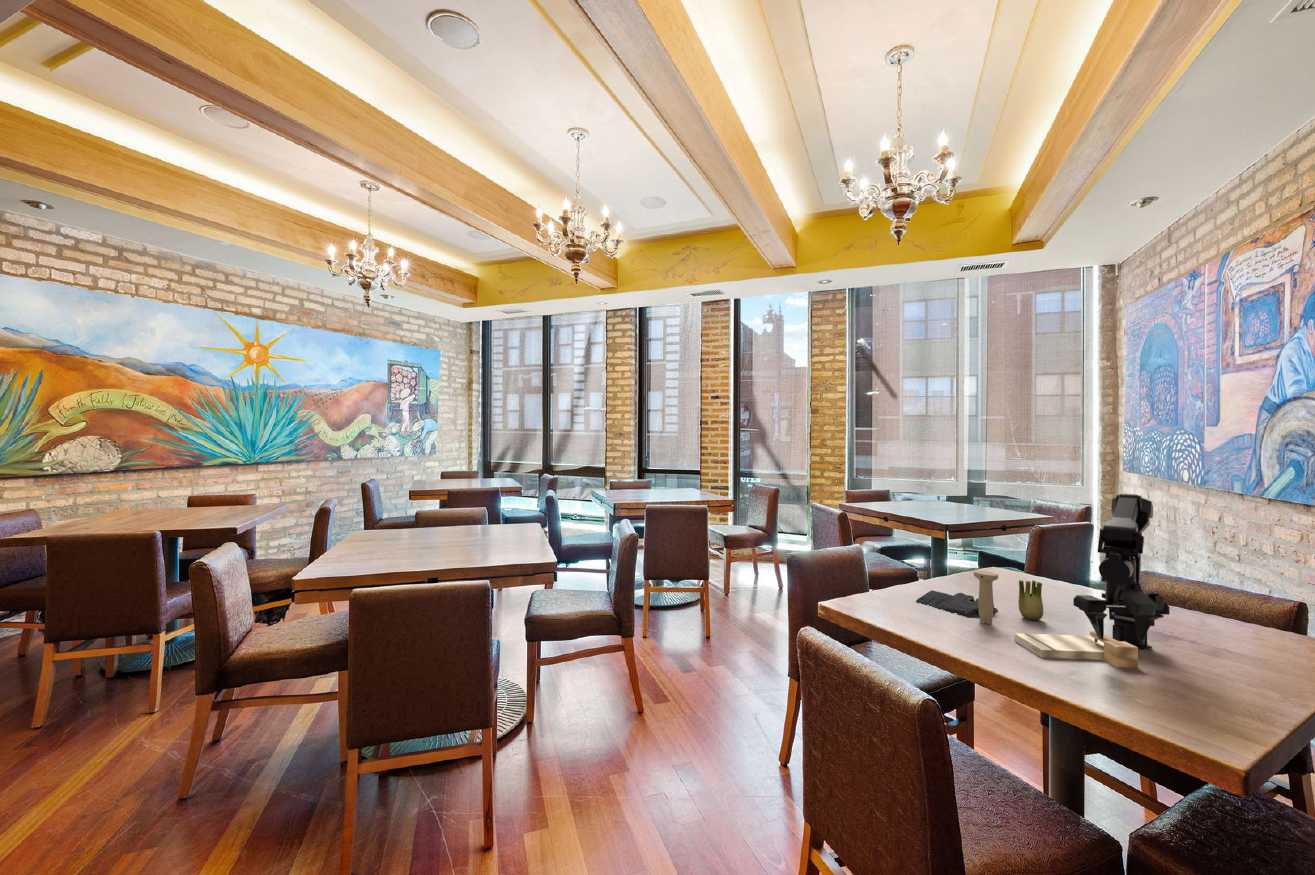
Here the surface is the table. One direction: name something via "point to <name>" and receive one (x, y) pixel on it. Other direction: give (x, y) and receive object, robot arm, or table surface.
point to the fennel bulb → (1030, 600)
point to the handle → (985, 595)
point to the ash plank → (1062, 646)
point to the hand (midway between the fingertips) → (1120, 639)
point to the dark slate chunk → (952, 603)
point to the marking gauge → (1118, 652)
